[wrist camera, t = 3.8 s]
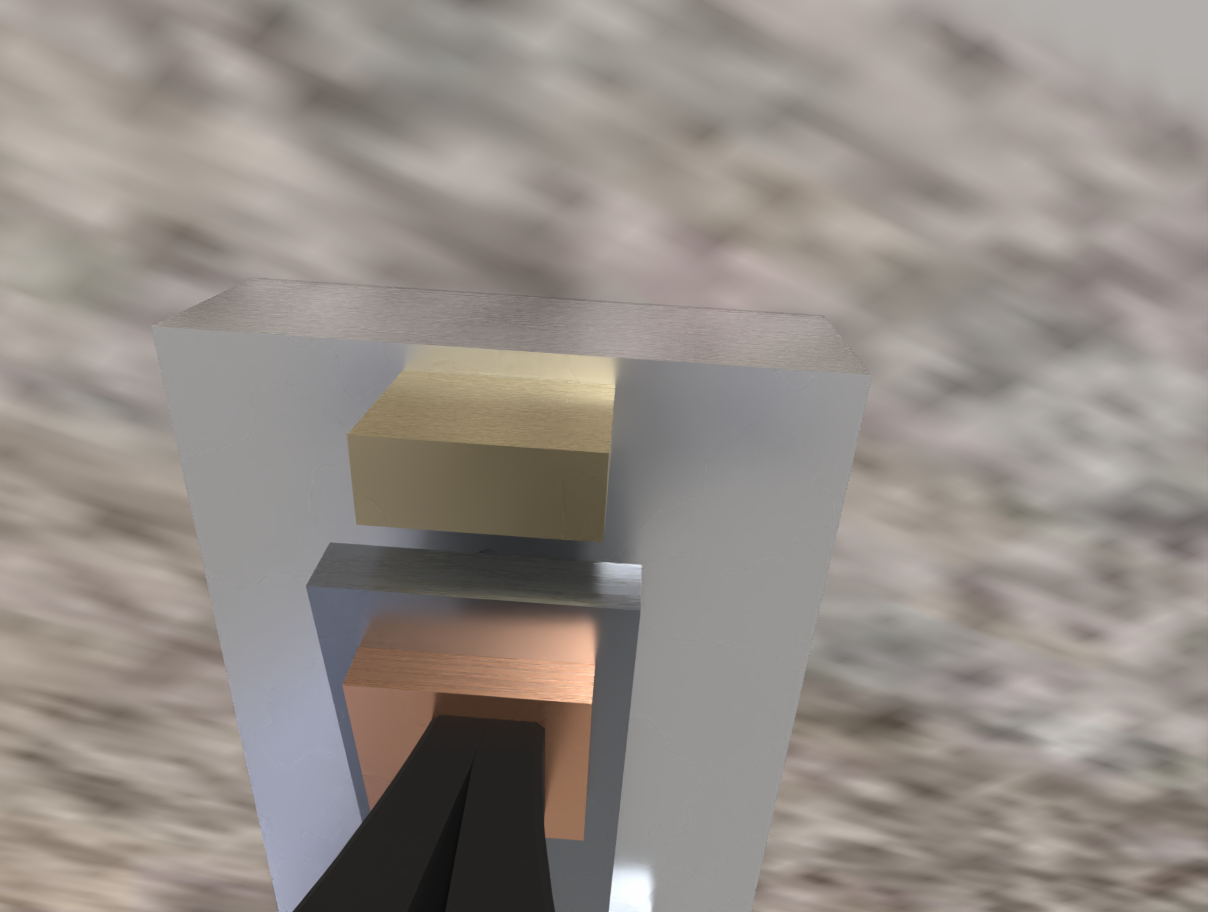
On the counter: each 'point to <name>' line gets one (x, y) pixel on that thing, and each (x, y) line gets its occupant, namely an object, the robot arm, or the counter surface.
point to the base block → (525, 526)
